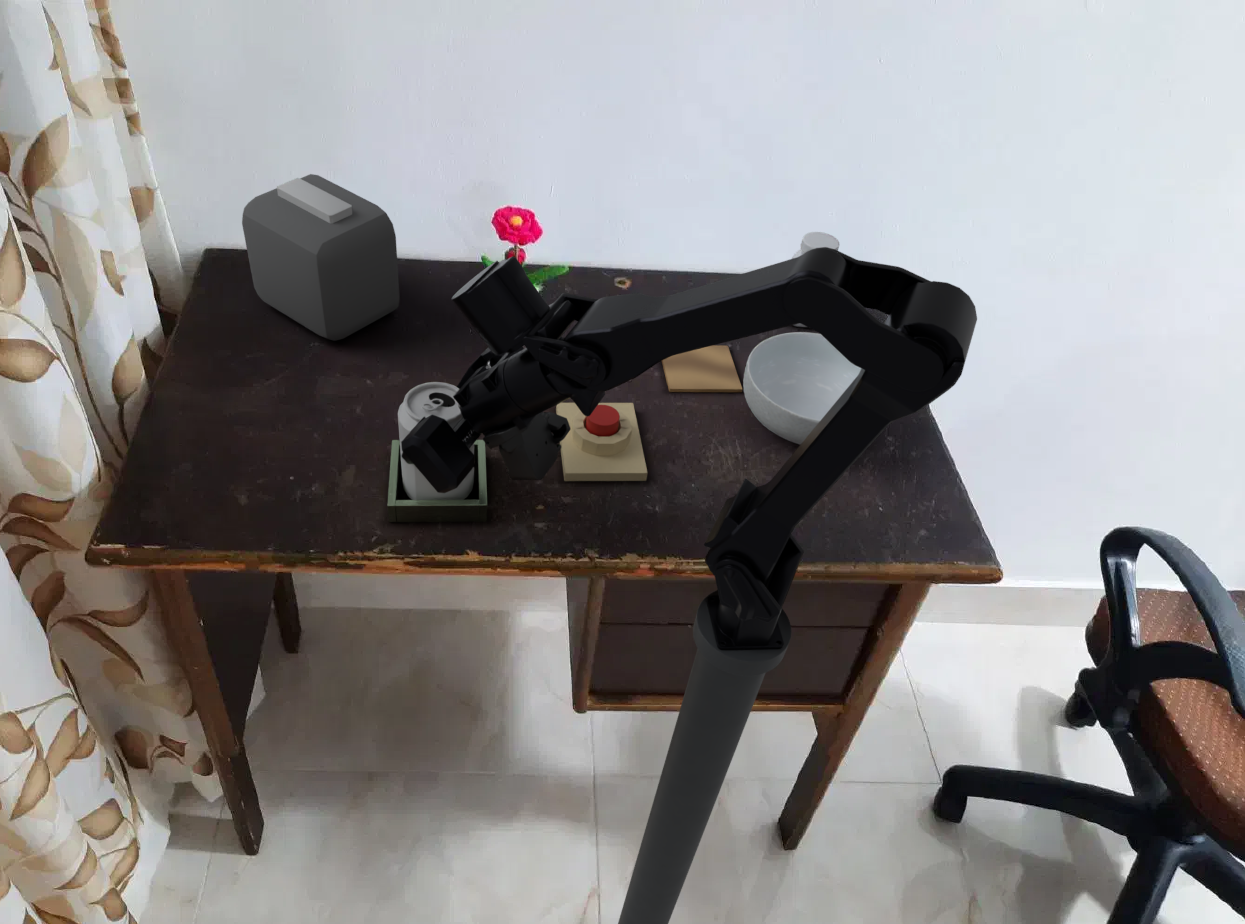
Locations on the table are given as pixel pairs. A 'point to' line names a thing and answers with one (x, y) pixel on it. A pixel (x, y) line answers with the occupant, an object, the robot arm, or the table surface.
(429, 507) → the grey-green square frame
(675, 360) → the cork coaster
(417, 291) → the table surface
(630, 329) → the robot arm
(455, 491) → the can
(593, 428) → the stop button
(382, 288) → the alarm clock
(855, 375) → the cereal bowl
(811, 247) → the pill bottle
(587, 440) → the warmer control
